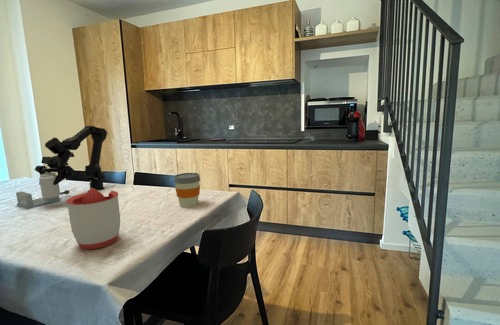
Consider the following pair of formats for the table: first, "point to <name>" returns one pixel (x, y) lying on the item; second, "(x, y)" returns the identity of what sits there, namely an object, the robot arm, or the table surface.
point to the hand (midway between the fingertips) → (47, 184)
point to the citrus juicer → (94, 218)
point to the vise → (27, 202)
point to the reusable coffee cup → (187, 189)
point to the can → (49, 185)
